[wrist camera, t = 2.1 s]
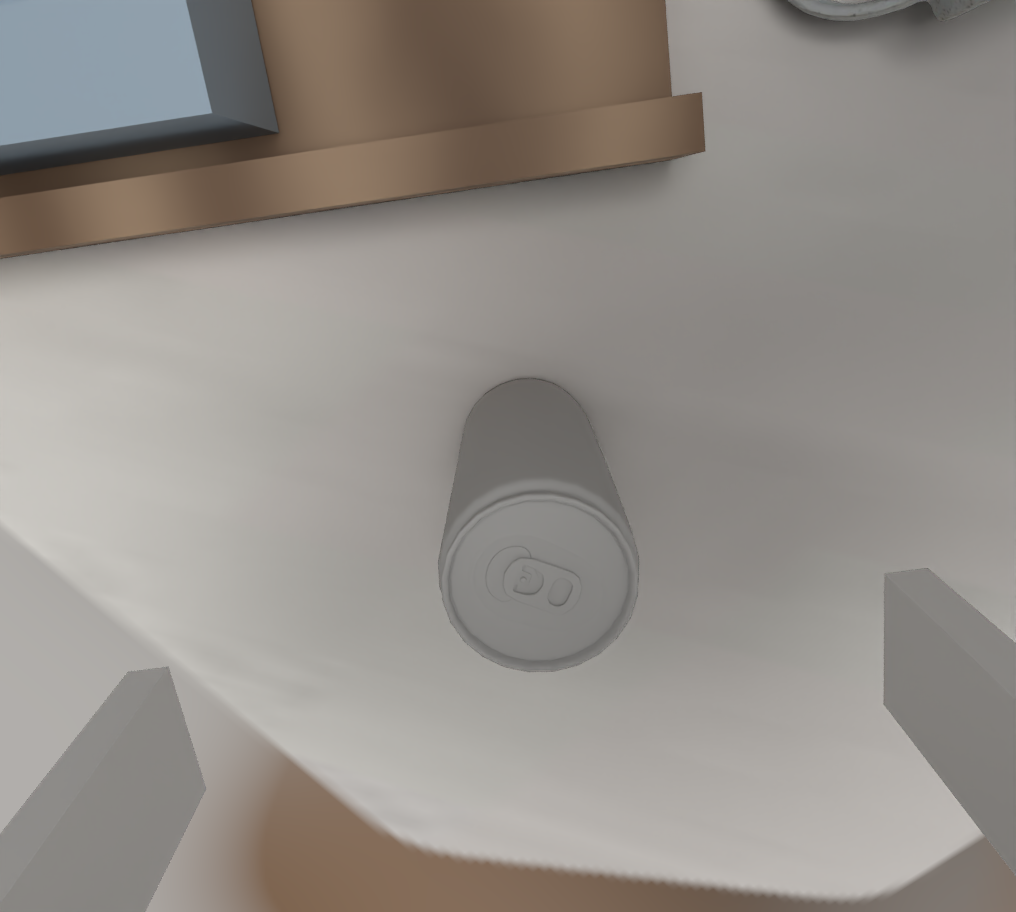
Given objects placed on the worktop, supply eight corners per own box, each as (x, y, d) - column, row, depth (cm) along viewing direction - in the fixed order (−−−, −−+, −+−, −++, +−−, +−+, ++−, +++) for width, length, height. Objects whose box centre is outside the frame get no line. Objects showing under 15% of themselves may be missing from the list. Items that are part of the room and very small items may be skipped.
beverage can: (490, 355, 29) (477, 457, 17) (612, 402, 29) (679, 531, 18) (445, 473, 30) (406, 640, 19) (563, 515, 31) (595, 703, 19)
